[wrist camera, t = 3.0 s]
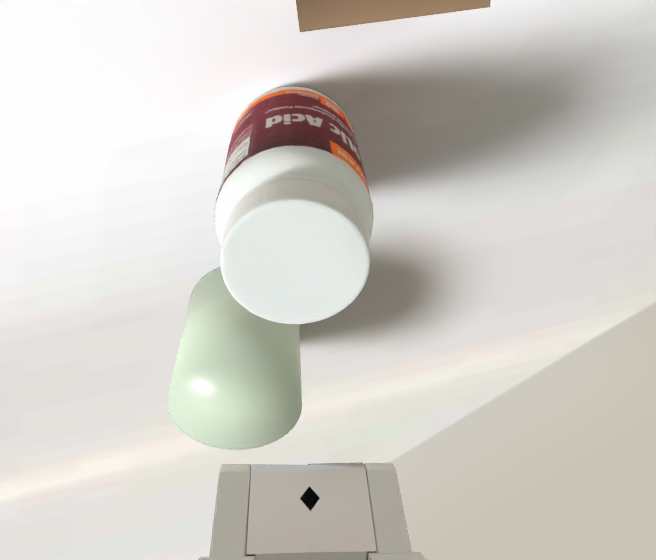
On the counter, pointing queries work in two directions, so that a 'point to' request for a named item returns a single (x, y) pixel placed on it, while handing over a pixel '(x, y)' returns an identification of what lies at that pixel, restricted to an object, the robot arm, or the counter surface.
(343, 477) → the robot arm
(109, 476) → the counter surface
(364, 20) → the walnut cube
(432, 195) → the counter surface
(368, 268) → the pill bottle
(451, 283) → the counter surface
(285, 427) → the sage cylinder
